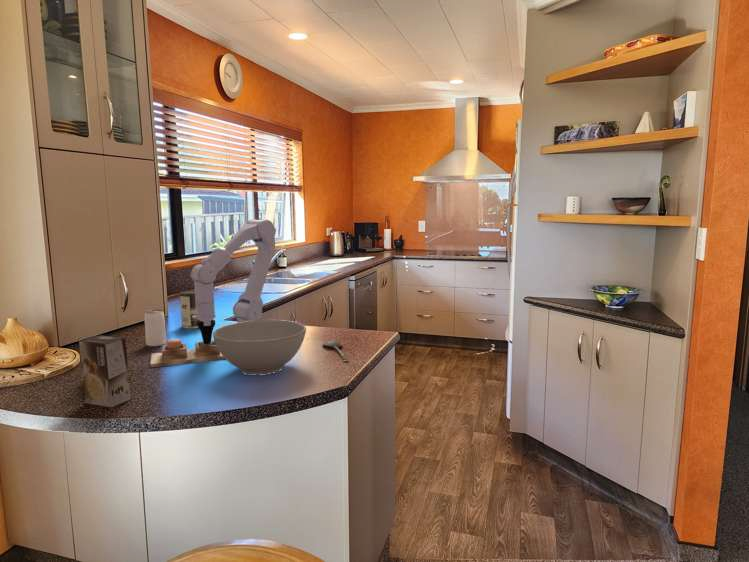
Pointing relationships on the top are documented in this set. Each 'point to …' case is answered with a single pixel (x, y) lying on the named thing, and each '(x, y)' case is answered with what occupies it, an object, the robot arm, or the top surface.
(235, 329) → the decorative bowl
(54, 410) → the top surface
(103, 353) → the coffee box
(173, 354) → the console
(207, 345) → the grey plunger
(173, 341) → the orange block
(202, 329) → the robot arm
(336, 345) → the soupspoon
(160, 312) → the can
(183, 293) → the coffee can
